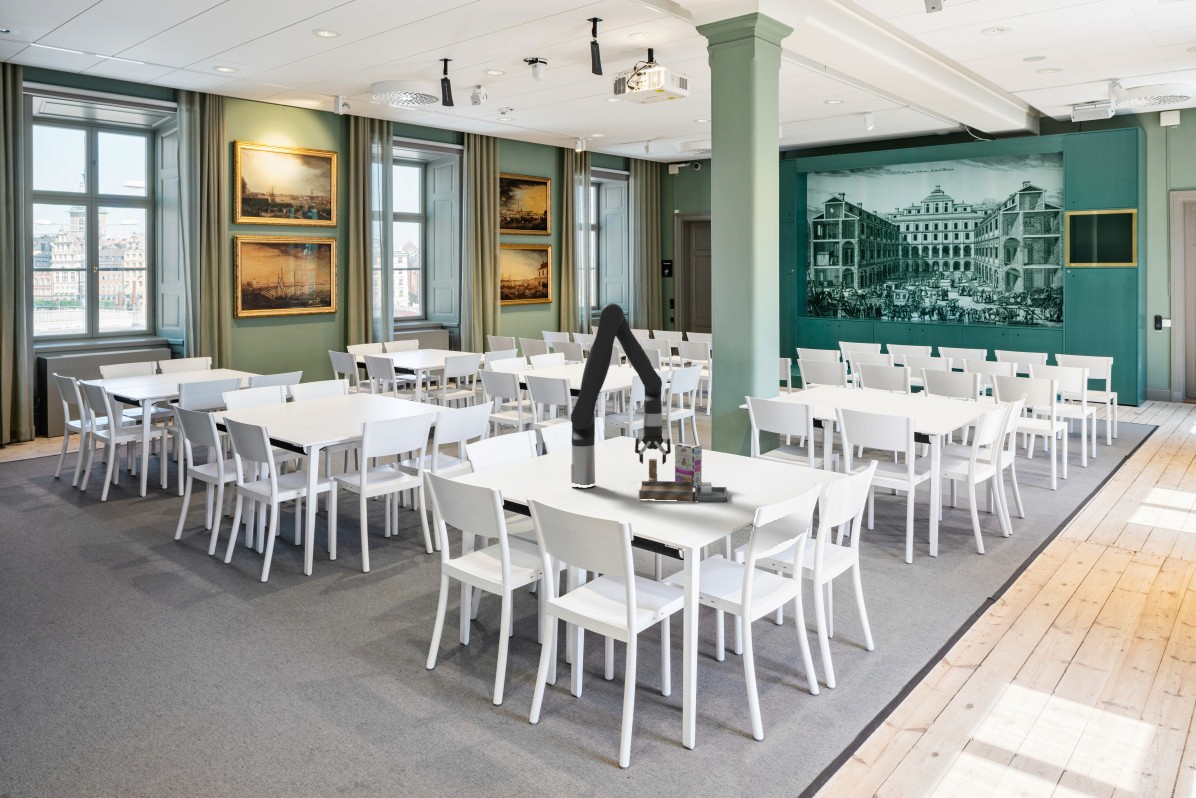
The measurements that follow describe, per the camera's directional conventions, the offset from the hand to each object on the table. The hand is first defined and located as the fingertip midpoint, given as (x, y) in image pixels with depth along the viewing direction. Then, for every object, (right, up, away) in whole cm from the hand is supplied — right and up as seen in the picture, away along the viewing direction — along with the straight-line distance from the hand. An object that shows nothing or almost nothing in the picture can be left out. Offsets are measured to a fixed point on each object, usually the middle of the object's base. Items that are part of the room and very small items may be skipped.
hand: (652, 463), depth 362 cm
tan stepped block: (0, -9, +1) cm, 9 cm away
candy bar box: (+15, -9, +4) cm, 17 cm away
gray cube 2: (+17, -9, -19) cm, 27 cm away
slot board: (+4, -11, -15) cm, 19 cm away
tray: (+21, -12, -17) cm, 30 cm away
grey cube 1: (+18, -9, -14) cm, 24 cm away
